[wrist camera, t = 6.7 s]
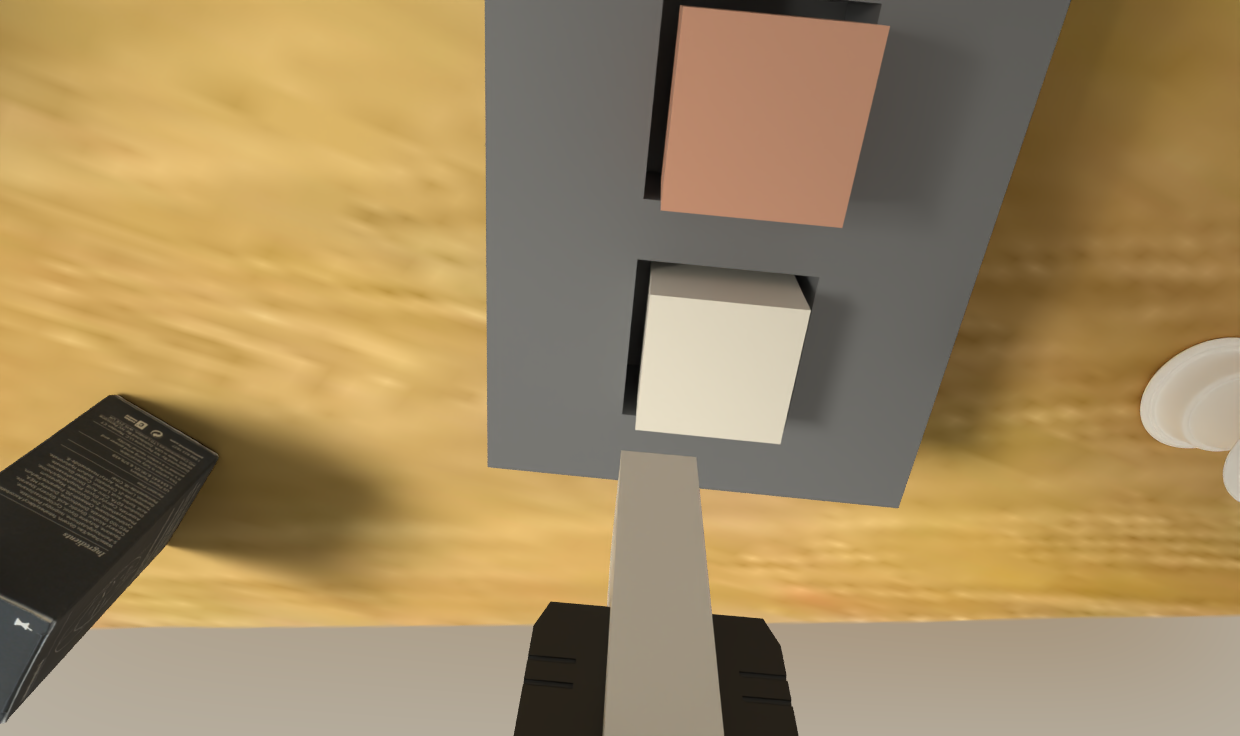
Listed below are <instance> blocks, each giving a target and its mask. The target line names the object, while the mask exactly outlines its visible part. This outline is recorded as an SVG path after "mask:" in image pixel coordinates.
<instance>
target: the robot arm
mask: <svg viewBox="0 0 1240 736" xmlns="http://www.w3.org/2000/svg"><path fill="white" fill-rule="evenodd" d="M514 736H798V731H797V726H796V721H795V716H794V711H793V707H792V706H791V696H790V691H789V686H788V682H787V681H786V671H785V666H784V660H783V655H782V651H781V646H780V644H779V643H778V641H777V639H776V638H775V636H774V635H773V634H772V632H771V630H770V629H769V627H768V626H767V624H766V623H765V621H764V620H763V619H760V618H749V617H738V616H726V615H715V614H712V610H711V600H710V590H709V580H708V570H707V560H706V550H705V540H704V530H703V520H702V510H701V500H700V490H699V480H698V470H697V460H696V457H689V456H678V455H667V454H656V453H645V452H634V451H623V450H621V459H620V469H619V478H618V488H617V498H616V507H615V517H614V526H613V536H612V546H611V556H610V571H609V586H608V600H607V607H605V606H594V605H583V604H571V603H560V602H550V603H549V605H548V606H547V608H546V609H545V610H544V612H543V613H542V615H541V616H540V617H539V619H538V620H537V622H536V623H535V624H534V626H533V632H532V638H531V643H530V649H529V654H528V661H527V665H526V671H525V676H524V684H523V687H522V693H521V698H520V704H519V709H518V715H517V720H516V726H515V731H514Z"/></svg>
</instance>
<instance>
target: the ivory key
mask: <svg viewBox="0 0 1240 736" xmlns="http://www.w3.org/2000/svg"><path fill="white" fill-rule="evenodd" d="M810 312H811V310H810V308H809V305H808V303H807V301H806V299H805V297H804V295H803V293H802V291H801V288H800V286H799V284H798V282H797V280H796V278H795V276H794V275H792V274H782V273H772V272H762V271H751V270H741V269H731V268H721V267H710V266H700V265H690V264H680V263H669V262H659V261H651V266H650V276H649V285H648V294H647V303H646V312H645V322H644V331H643V340H642V349H641V358H640V368H639V378H638V394H637V409H636V425H635V430H642V431H652V432H662V433H672V434H682V435H692V436H702V437H712V438H722V439H732V440H742V441H752V442H762V443H772V444H780V443H781V439H782V435H783V430H784V426H785V422H786V417H787V413H788V408H789V404H790V400H791V395H792V391H793V387H794V382H795V378H796V373H797V369H798V365H799V360H800V356H801V351H802V347H803V343H804V338H805V334H806V330H807V325H808V321H809V316H810Z"/></svg>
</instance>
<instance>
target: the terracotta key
mask: <svg viewBox="0 0 1240 736" xmlns="http://www.w3.org/2000/svg"><path fill="white" fill-rule="evenodd" d="M889 29H890V26H886V25H878V24H871V23H863V22H855V21H846V20H835V19H824V18H814V17H803V16H793V15H782V14H771V13H761V12H750V11H740V10H729V9H718V8H708V7H697V6H686V5H680V8H679V17H678V26H677V36H676V45H675V54H674V63H673V72H672V81H671V91H670V100H669V109H668V118H667V127H666V136H665V145H664V155H663V164H662V173H661V210H662V211H672V212H682V213H692V214H703V215H713V216H723V217H734V218H744V219H754V220H765V221H775V222H785V223H796V224H806V225H816V226H827V227H837V228H842V227H843V223H844V219H845V215H846V210H847V206H848V202H849V198H850V194H851V189H852V185H853V181H854V177H855V172H856V168H857V164H858V160H859V156H860V151H861V147H862V143H863V139H864V134H865V130H866V126H867V122H868V118H869V113H870V109H871V105H872V101H873V96H874V92H875V88H876V84H877V80H878V75H879V71H880V67H881V63H882V58H883V54H884V50H885V46H886V42H887V37H888V33H889Z"/></svg>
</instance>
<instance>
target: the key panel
mask: <svg viewBox="0 0 1240 736" xmlns="http://www.w3.org/2000/svg"><path fill="white" fill-rule="evenodd" d="M1070 2H1071V0H485V103H486V268H487V432H488V467H492V468H502V469H512V470H522V471H532V472H542V473H552V474H562V475H572V476H582V477H592V478H602V479H612V480H618V478H619V469H620V459H621V450H623V451H634V452H645V453H656V454H667V455H678V456H689V457H696V460H697V470H698V480H699V488H701V489H711V490H721V491H731V492H741V493H751V494H761V495H771V496H781V497H791V498H801V499H811V500H821V501H831V502H841V503H851V504H861V505H871V506H881V507H891V508H899V505H900V502H901V499H902V496H903V493H904V490H905V487H906V484H907V481H908V478H909V475H910V472H911V469H912V466H913V463H914V461H915V458H916V455H917V452H918V449H919V446H920V443H921V440H922V437H923V434H924V431H925V428H926V425H927V422H928V419H929V416H930V413H931V410H932V408H933V405H934V402H935V399H936V396H937V393H938V390H939V387H940V384H941V381H942V378H943V375H944V372H945V369H946V366H947V363H948V360H949V358H950V355H951V352H952V349H953V346H954V343H955V340H956V337H957V334H958V331H959V328H960V325H961V322H962V319H963V316H964V313H965V310H966V308H967V305H968V302H969V299H970V296H971V293H972V290H973V287H974V284H975V281H976V278H977V275H978V272H979V269H980V266H981V263H982V260H983V258H984V255H985V252H986V249H987V246H988V243H989V240H990V237H991V234H992V231H993V228H994V225H995V222H996V219H997V216H998V213H999V210H1000V208H1001V205H1002V202H1003V199H1004V196H1005V193H1006V190H1007V187H1008V184H1009V181H1010V178H1011V175H1012V172H1013V169H1014V166H1015V163H1016V160H1017V158H1018V155H1019V152H1020V149H1021V146H1022V143H1023V140H1024V137H1025V134H1026V131H1027V128H1028V125H1029V122H1030V119H1031V116H1032V113H1033V110H1034V107H1035V105H1036V102H1037V99H1038V96H1039V93H1040V90H1041V87H1042V84H1043V81H1044V78H1045V75H1046V72H1047V69H1048V66H1049V63H1050V60H1051V57H1052V55H1053V52H1054V49H1055V46H1056V43H1057V40H1058V37H1059V34H1060V31H1061V28H1062V25H1063V22H1064V19H1065V16H1066V13H1067V10H1068V7H1069V5H1070ZM680 5H686V6H697V7H708V8H718V9H729V10H740V11H750V12H761V13H771V14H782V15H793V16H803V17H814V18H824V19H835V20H846V21H855V22H863V23H871V24H878V25H886V26H890V29H889V33H888V37H887V42H886V46H885V50H884V54H883V58H882V63H881V67H880V71H879V75H878V80H877V84H876V88H875V92H874V96H873V101H872V105H871V109H870V113H869V118H868V122H867V126H866V130H865V134H864V139H863V143H862V147H861V151H860V156H859V160H858V164H857V168H856V172H855V177H854V181H853V185H852V189H851V194H850V198H849V202H848V206H847V210H846V215H845V219H844V223H843V227H842V228H837V227H827V226H816V225H806V224H796V223H785V222H775V221H765V220H754V219H744V218H734V217H723V216H713V215H703V214H692V213H682V212H672V211H662V210H661V173H662V164H663V155H664V145H665V136H666V127H667V118H668V109H669V100H670V91H671V81H672V72H673V63H674V54H675V45H676V36H677V26H678V17H679V8H680ZM651 261H659V262H669V263H680V264H690V265H700V266H710V267H721V268H731V269H741V270H751V271H762V272H772V273H782V274H792V275H794V276H795V278H796V280H797V282H798V284H799V286H800V288H801V291H802V293H803V295H804V297H805V299H806V301H807V303H808V305H809V308H810V310H811V312H810V316H809V321H808V325H807V330H806V334H805V338H804V343H803V347H802V351H801V356H800V360H799V365H798V369H797V373H796V378H795V382H794V387H793V391H792V395H791V400H790V404H789V408H788V413H787V417H786V422H785V426H784V430H783V435H782V439H781V443H780V444H772V443H762V442H752V441H742V440H732V439H722V438H712V437H702V436H692V435H682V434H672V433H662V432H652V431H642V430H635V425H636V409H637V394H638V378H639V368H640V358H641V349H642V340H643V331H644V322H645V312H646V303H647V294H648V285H649V276H650V266H651Z"/></svg>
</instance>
